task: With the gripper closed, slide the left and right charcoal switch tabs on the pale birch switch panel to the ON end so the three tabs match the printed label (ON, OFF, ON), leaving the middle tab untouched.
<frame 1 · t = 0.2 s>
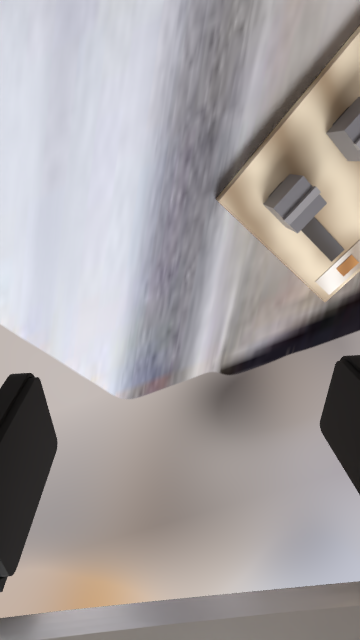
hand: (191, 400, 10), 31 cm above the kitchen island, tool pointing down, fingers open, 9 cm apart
switch tab 3: (294, 203, 33), point 4 cm above the kitchen island, slide at 0.0 cm
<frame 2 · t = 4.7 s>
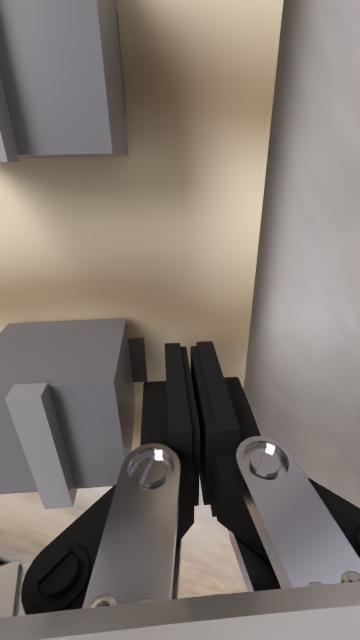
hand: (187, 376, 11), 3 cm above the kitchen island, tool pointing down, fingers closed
switch tab 1: (63, 405, 10), point 4 cm above the kitchen island, slide at 0.6 cm, touching gripper
switch tab 2: (0, 33, 6), point 4 cm above the kitchen island, slide at 0.0 cm
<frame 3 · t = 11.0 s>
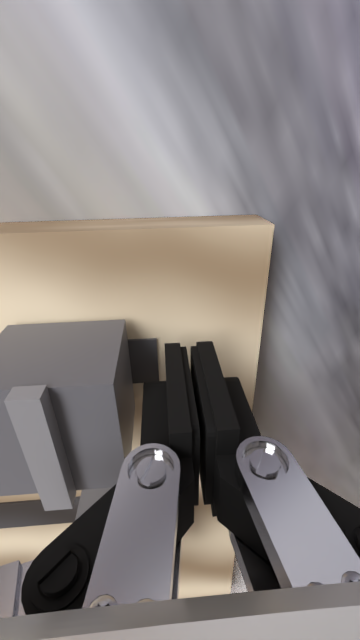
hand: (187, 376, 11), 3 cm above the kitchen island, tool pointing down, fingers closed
switch tab 2: (124, 554, 14), point 4 cm above the kitchen island, slide at 0.0 cm
switch panel: (60, 475, 18), on the kitchen island
switch tab 3: (62, 407, 10), point 4 cm above the kitchen island, slide at 1.0 cm, touching gripper
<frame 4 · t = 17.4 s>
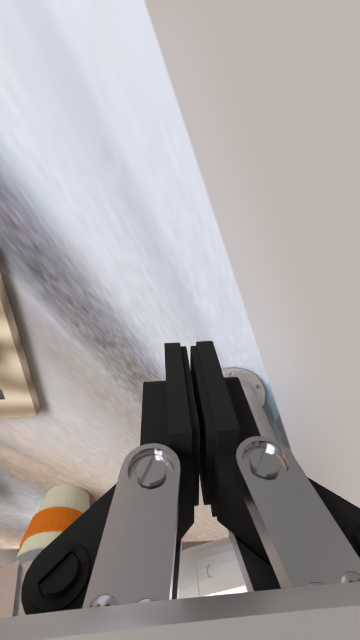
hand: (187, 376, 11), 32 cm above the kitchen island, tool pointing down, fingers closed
reusable coffee cup: (68, 497, 64), on the kitchen island
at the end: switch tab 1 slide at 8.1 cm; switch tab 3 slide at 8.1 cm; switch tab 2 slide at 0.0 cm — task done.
